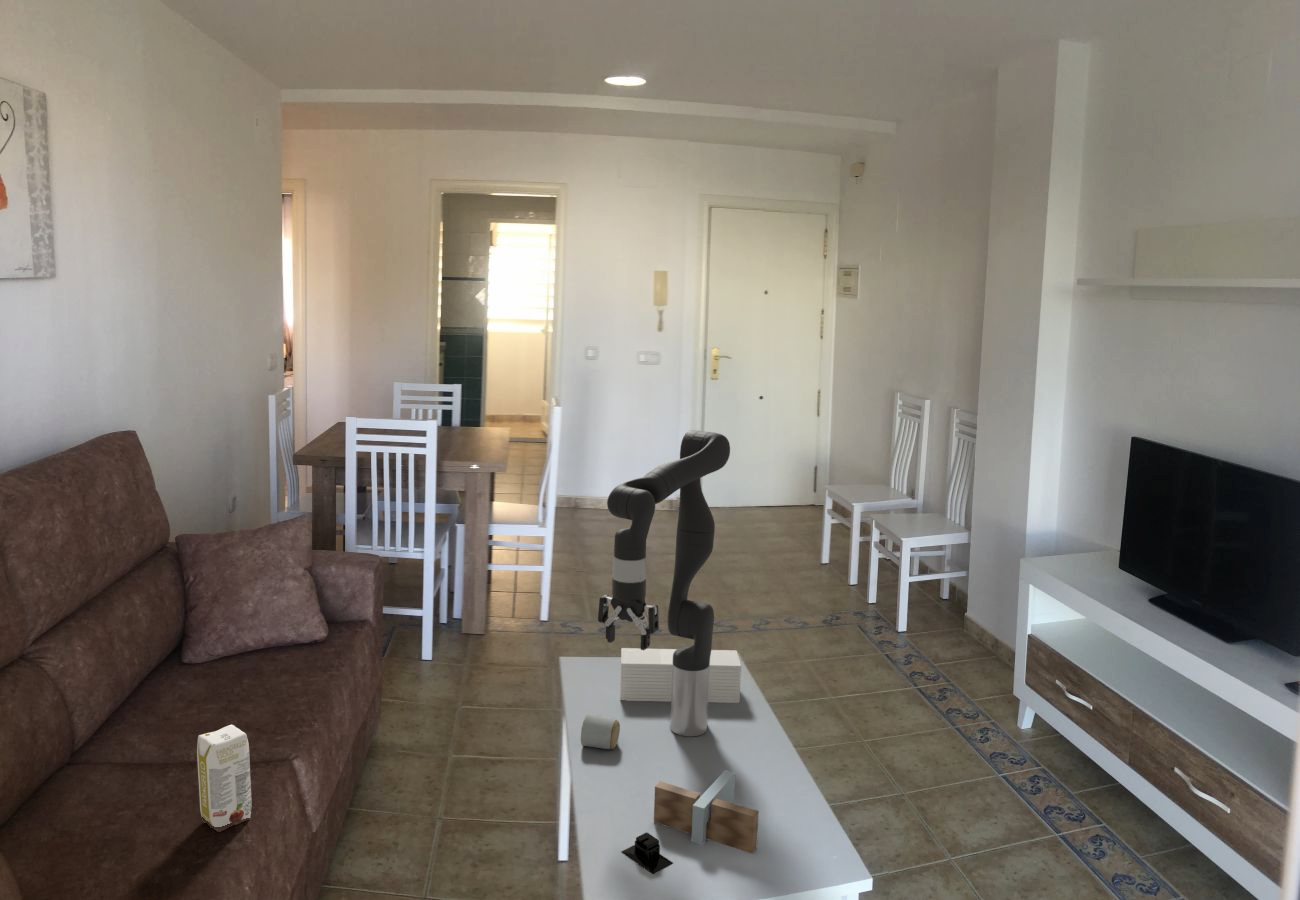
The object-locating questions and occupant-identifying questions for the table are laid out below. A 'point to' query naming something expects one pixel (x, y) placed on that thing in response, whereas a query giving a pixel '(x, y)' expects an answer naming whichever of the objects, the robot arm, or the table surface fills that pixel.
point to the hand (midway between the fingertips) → (627, 645)
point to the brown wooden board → (723, 827)
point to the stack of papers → (652, 675)
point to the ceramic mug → (600, 731)
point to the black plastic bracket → (647, 854)
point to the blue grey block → (702, 806)
